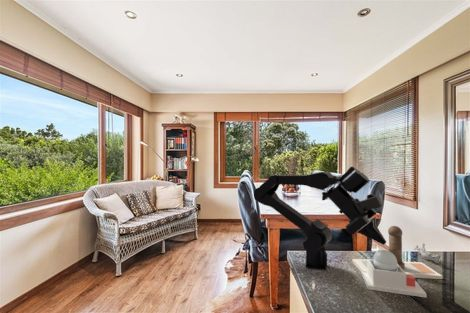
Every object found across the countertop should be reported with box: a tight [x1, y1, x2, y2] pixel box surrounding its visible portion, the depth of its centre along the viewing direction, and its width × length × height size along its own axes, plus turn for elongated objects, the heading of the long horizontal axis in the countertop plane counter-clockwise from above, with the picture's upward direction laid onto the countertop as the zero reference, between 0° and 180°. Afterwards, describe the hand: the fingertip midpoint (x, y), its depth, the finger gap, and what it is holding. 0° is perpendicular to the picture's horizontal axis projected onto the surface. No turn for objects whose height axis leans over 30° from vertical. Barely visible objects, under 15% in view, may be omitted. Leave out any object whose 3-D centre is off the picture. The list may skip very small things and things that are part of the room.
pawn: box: [387, 225, 405, 269], centre depth 81 cm, size 5×5×13 cm
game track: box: [352, 258, 444, 280], centre depth 81 cm, size 23×10×1 cm, turn 82°
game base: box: [361, 258, 428, 298], centre depth 71 cm, size 14×9×6 cm, turn 72°
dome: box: [373, 249, 397, 272], centre depth 71 cm, size 6×6×6 cm
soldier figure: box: [413, 242, 442, 264], centre depth 89 cm, size 8×5×12 cm
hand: (385, 243), depth 71 cm, fingers closed
